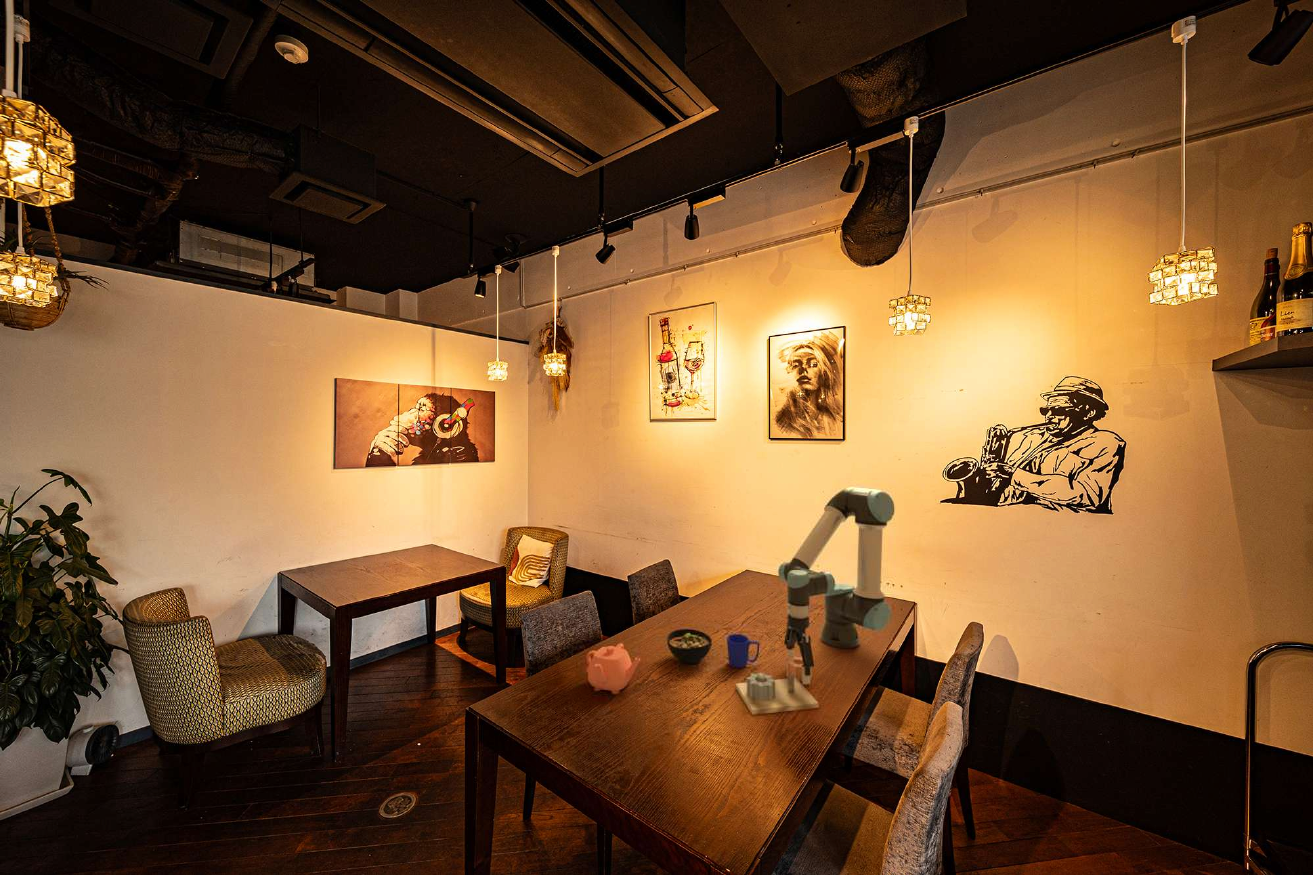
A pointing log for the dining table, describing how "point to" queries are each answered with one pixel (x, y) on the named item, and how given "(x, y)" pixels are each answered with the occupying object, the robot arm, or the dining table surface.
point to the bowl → (689, 646)
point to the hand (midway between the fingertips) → (798, 675)
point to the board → (780, 697)
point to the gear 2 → (795, 667)
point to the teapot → (610, 668)
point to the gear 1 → (761, 687)
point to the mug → (739, 650)
